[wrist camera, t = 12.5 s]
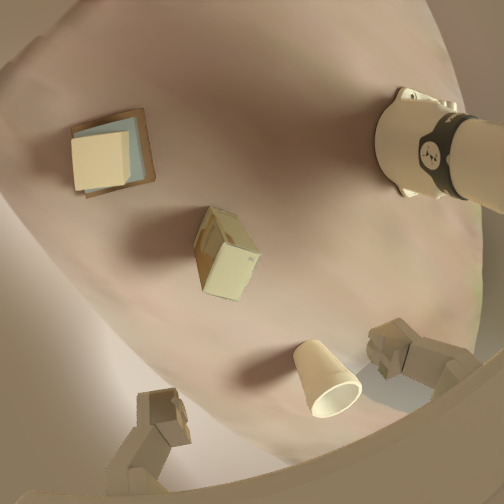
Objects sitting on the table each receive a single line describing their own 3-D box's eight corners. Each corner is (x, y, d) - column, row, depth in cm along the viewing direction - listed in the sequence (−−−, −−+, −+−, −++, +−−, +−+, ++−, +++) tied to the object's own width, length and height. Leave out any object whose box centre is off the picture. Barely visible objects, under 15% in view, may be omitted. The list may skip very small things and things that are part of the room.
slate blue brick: (136, 117, 31) (133, 117, 28) (145, 174, 34) (143, 179, 31) (80, 132, 29) (73, 133, 27) (91, 188, 32) (85, 193, 30)
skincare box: (208, 204, 40) (224, 238, 29) (238, 215, 41) (264, 251, 31) (191, 247, 42) (200, 294, 31) (219, 256, 43) (238, 304, 32)
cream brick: (128, 130, 28) (121, 132, 24) (130, 175, 31) (124, 185, 26) (84, 136, 27) (71, 139, 23) (88, 180, 29) (75, 190, 25)
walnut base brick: (144, 109, 33) (142, 107, 30) (156, 176, 37) (155, 180, 34) (77, 127, 31) (70, 128, 29) (91, 193, 35) (86, 198, 33)
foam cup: (337, 336, 57) (371, 381, 45) (315, 370, 59) (343, 415, 48) (298, 330, 53) (330, 381, 42) (277, 367, 56) (301, 418, 44)
